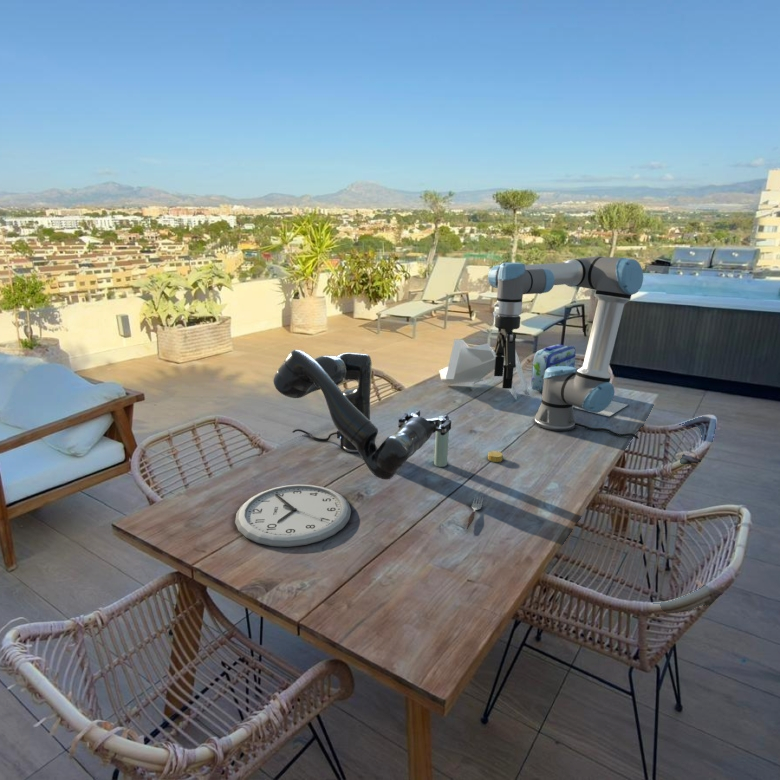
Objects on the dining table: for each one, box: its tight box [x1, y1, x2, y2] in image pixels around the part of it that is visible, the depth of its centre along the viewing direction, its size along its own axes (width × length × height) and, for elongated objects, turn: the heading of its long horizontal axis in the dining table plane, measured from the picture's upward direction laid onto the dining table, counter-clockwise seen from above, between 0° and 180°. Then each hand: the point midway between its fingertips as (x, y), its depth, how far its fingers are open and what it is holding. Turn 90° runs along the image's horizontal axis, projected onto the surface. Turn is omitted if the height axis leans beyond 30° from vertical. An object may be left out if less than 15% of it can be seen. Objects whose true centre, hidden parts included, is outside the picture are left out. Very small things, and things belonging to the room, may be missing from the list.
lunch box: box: [530, 344, 577, 392], centre depth 247 cm, size 26×11×21 cm, turn 134°
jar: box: [433, 415, 450, 468], centre depth 167 cm, size 4×4×16 cm
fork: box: [466, 495, 484, 530], centre depth 138 cm, size 3×16×2 cm, turn 160°
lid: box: [487, 450, 504, 463], centre depth 173 cm, size 5×5×2 cm
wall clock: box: [234, 484, 352, 548], centre depth 138 cm, size 30×2×30 cm
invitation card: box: [573, 400, 629, 418], centre depth 226 cm, size 21×1×15 cm
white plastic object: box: [438, 310, 531, 400], centre depth 245 cm, size 37×45×31 cm
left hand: (432, 415), depth 154 cm, fingers open, 8 cm apart
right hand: (502, 382), depth 165 cm, fingers open, 13 cm apart
